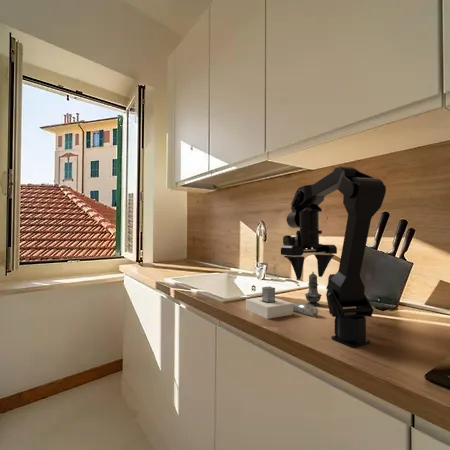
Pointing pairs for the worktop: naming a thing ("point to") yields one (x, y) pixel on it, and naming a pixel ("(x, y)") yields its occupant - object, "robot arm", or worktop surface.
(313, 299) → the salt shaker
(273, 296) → the square bit
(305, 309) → the round bit
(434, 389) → the worktop surface
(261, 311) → the socket block
